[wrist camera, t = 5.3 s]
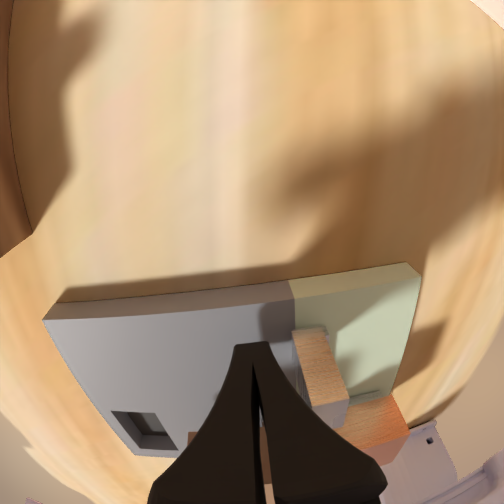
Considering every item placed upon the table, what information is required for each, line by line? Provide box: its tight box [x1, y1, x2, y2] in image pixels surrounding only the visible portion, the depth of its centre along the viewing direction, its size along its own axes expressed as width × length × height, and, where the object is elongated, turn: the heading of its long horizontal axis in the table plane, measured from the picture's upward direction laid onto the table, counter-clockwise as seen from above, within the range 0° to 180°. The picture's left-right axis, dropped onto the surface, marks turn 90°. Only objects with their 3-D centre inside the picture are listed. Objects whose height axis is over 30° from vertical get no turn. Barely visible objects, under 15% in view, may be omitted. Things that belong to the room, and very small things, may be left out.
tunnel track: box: [42, 262, 422, 504], centre depth 13 cm, size 18×13×6 cm
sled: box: [261, 325, 411, 466], centre depth 12 cm, size 8×10×4 cm
